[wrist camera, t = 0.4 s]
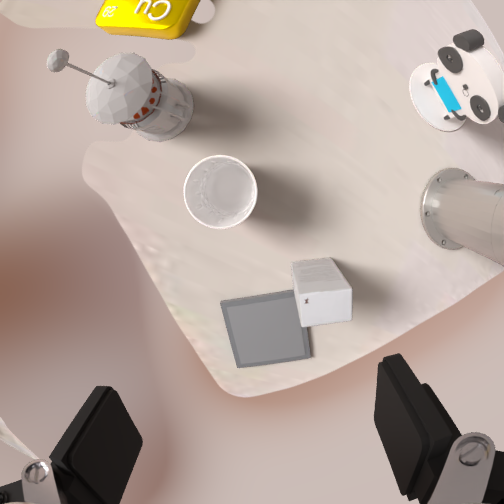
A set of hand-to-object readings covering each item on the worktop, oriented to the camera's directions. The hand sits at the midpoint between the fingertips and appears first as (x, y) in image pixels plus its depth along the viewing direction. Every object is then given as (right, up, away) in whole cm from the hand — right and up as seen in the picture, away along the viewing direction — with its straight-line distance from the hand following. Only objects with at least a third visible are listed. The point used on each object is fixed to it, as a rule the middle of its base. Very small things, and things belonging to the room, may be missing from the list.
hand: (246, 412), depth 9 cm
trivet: (+3, -7, +37) cm, 38 cm away
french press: (-12, +25, +30) cm, 41 cm away
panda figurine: (+29, +30, +26) cm, 49 cm away
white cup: (-3, +14, +32) cm, 35 cm away
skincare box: (+9, +2, +35) cm, 36 cm away
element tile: (-15, +46, +25) cm, 54 cm away
